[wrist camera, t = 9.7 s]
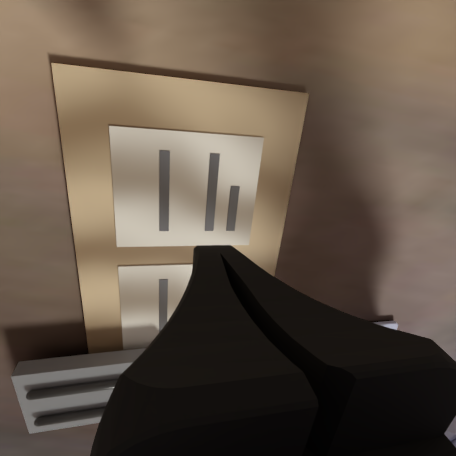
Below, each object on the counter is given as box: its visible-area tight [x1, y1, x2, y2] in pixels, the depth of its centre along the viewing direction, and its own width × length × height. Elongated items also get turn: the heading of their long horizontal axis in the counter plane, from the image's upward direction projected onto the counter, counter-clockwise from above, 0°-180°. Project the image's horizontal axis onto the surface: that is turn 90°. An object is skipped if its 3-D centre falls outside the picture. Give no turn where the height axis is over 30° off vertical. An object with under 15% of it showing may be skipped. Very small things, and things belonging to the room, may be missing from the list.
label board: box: [51, 63, 309, 354], centre depth 21 cm, size 23×14×1 cm, turn 174°
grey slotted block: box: [11, 348, 146, 434], centre depth 22 cm, size 12×6×2 cm, turn 85°
